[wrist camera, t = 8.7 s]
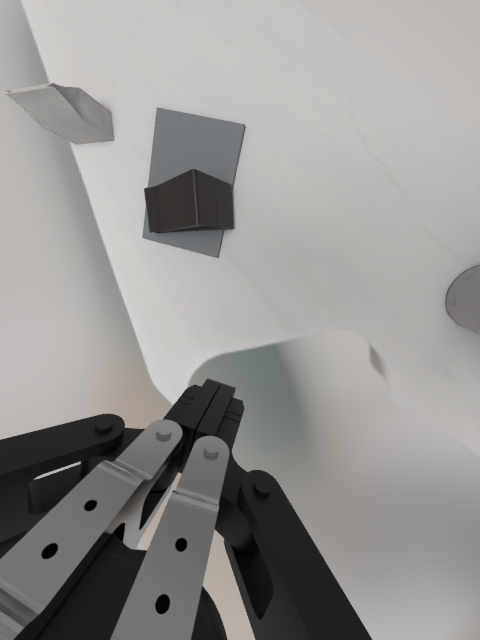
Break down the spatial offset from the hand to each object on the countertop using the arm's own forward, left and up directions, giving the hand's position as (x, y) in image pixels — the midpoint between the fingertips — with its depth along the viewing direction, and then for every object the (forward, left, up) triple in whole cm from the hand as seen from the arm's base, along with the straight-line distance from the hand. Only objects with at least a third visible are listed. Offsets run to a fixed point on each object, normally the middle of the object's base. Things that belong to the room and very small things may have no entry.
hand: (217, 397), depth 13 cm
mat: (+16, -13, -29) cm, 35 cm away
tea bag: (+33, -18, -29) cm, 48 cm away
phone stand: (+10, -11, -24) cm, 28 cm away
